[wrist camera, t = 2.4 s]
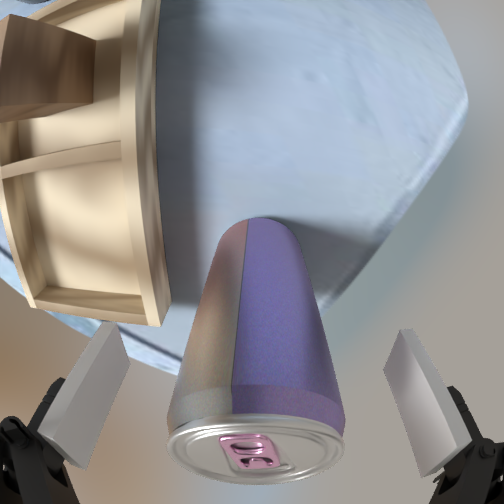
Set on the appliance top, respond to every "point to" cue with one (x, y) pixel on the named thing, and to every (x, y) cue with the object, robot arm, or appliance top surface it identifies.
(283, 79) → the appliance top surface
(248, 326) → the beverage can
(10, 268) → the appliance top surface
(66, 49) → the walnut block
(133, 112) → the rack
